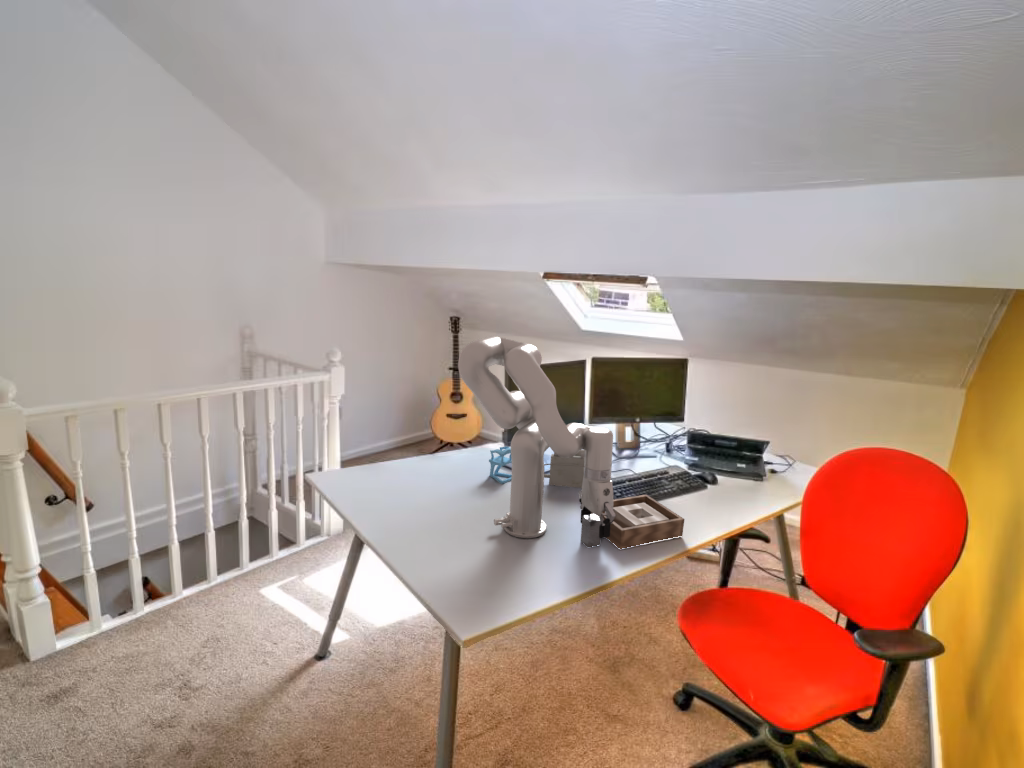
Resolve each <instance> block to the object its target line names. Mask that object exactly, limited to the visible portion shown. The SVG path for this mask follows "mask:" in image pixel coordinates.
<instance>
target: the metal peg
mask: <svg viewBox="0 0 1024 768" xmlns="http://www.w3.org/2000/svg"><path fill="white" fill-rule="evenodd" d="M600 524H601V522H600V519H599V517H598V516H597V515H595V514H590V515H584V516H583V517H582V523H581V531H580V532H581V533H580V543H582V544H583V543H584V544H585V545H586V546H587V547H591V548H593V547H592V546H596V547H598V546H597V545H600V546H601V540H602V539H600V538H599V526H600ZM584 544H583V545H584ZM585 545H584V546H585ZM586 546H585V547H586ZM587 547H586V548H587Z"/></svg>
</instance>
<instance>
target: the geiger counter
mask: <svg viewBox="0 0 1024 768" xmlns="http://www.w3.org/2000/svg"><path fill="white" fill-rule="evenodd" d="M584 455H585V451H584V450H583V449H582V450H580V451H579V452H578V453H577V454H576V455H575V456H573V457H571V458H562V457H560V456H558V455H557V454H556V453H554V452H553V453H552V454H551V455H550V463H544V467H545V466H549V474H547V473H544V479H548V481H549V482H548V483H549V486H554V485H555V486H557V487H566V486H567V487H566V488H577V489H578V488H580V489H582V483H583V477H584Z"/></svg>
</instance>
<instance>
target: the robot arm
mask: <svg viewBox="0 0 1024 768" xmlns="http://www.w3.org/2000/svg"><path fill="white" fill-rule="evenodd" d="M460 351H461V352H460V353H459V357H458V363H457V366H458V367H457V369H458V372H459V375H460V377H461V380H462V381H463V383H464V385H466V387H467V388H468V389H469V390H470V391H471V392H472V394H473V395H474V396H475V398H476V399H477V400H478V402H479V404H481V406H482V407H483V408H484V410H485V411H486V413H488V415H489V416H490V417H491V419H492V420H493V421H494V422H495V424H496V425H497V426H498V427H500V428H501V429H504V430H509V429H510V430H511V429H513V428H515V427H516V428H517V429H518V430H517V431H516V432H515V433H514V435H513V437H512V438H511V441H510V448H511V453H510V454H511V458H512V463H511V475H512V476H511V481H510V484H511V485H510V499H509V500H510V502H509V512H506V516H505V515H504V516H503V517H499V518H494V519H493V524H494V526H496V527H497V526H501V528H502V529H503V530H505V532H506V533H507V534H508V535H510V536H513V537H516V538H520V539H535V538H539V537H541V536H542V535H544V534H545V533H546V532H547V524H546V523H545V521H544V520H543V519H542V518H543V516H542V515H543V505H544V504H543V502H544V489H545V488H544V487H545V486H544V485H545V478H544V474H545V466H544V464H545V460H544V459H545V458H544V456H545V452H546V451H547V450H548V449H549V448H550V449H551V450H552V451H553V454H554V453H556V454H557V455H558V456H560V457H562V458H571V457H573V456H575V455H576V454H577V453H578V452H579V451H580V450H584V451H585V455H584V477H583V483H582V488H581V490H578V496H579V497H578V498H579V499H578V502H579V504H580V506H579V508H580V523H581V524H582V517H583V516H584V515H590V514H591V512H592V513H594V514H595V515H597V516H599V519H600V522H601V524H600V526H599V538H600V539H601V540H602V539H606V537H609V536H610V524H612V522H613V521H614V518H615V513H614V511H613V500H614V487H613V481H612V480H611V479H612V475H611V474H612V468H613V466H612V464H613V450H614V449H613V448H614V447H613V445H614V434H613V432H612V430H611V429H609V428H607V427H606V428H605V427H600V426H597V427H596V426H595V427H593V426H589V425H586V424H583V423H578V422H570V423H568V424H566V423H565V421H564V420H563V418H562V417H561V415H560V412H559V409H558V406H557V391H556V388H555V386H554V384H553V382H552V381H551V380H550V378H549V377H548V376H547V374H546V373H545V372H544V370H543V368H541V365H542V361H543V359H542V354H541V352H540V350H539V349H538V348H537V347H536V346H535V345H533V344H531V343H527V342H522V341H518V340H514V339H510V338H506V337H502V336H497V335H489V336H485V337H483V338H477V339H474V340H472V341H470V342H468V343H467V344H466V345H465V346H464V347H463V348H462V349H461V350H460ZM495 365H497V366H501V367H502V366H503V367H504V369H505V372H506V373H507V375H508V376H509V377H510V379H512V382H513V383H514V385H515V386H516V387H517V389H518V390H511V391H509V389H507V387H506V385H504V384H503V382H502V381H501V380H500V378H499V377H497V375H495V374H494V373H493V372H491V370H490V369H489V368H490V367H492V366H495ZM604 511H605V513H602V512H604ZM601 513H602V514H601ZM603 516H606V518H607V519H605V520H604V519H603Z"/></svg>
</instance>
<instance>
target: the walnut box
mask: <svg viewBox="0 0 1024 768" xmlns="http://www.w3.org/2000/svg"><path fill="white" fill-rule="evenodd" d="M613 511H614V513H615V518H614V521H613V522H612V524H610V536H609V537H606V538H607V539H609V540H610V541H611V542H612V543H614V544H615V545H616V546H617V547H618V548H620V549H622V548H627V547H631V546H636V545H640V544H644V543H649V542H653V541H658V540H663V539H668V538H673V537H678V536H682V537H683V534H684V525H685V518H683V517H682V516H680V515H679V514H678V513H676V512H674V511H673V510H671V509H669V508H668V507H667V506H665V505H663V504H662V503H660V502H659V501H657V500H656V499H654V498H653V497H652V496H649V495H648V494H642V495H636V496H635V495H634V496H627V497H622V498H615V499H614V498H613ZM602 513H605V511H604V512H602ZM602 513H601V514H602ZM591 514H594V513H592V512H591ZM598 517H599V516H598ZM603 519H604V520H605V519H607V518H606V516H603ZM606 538H605V539H606ZM609 540H608V541H609ZM610 541H609V542H610ZM611 542H610V543H611ZM612 543H611V544H612ZM616 546H615V547H616ZM617 547H616V548H617ZM618 548H617V549H618Z"/></svg>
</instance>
